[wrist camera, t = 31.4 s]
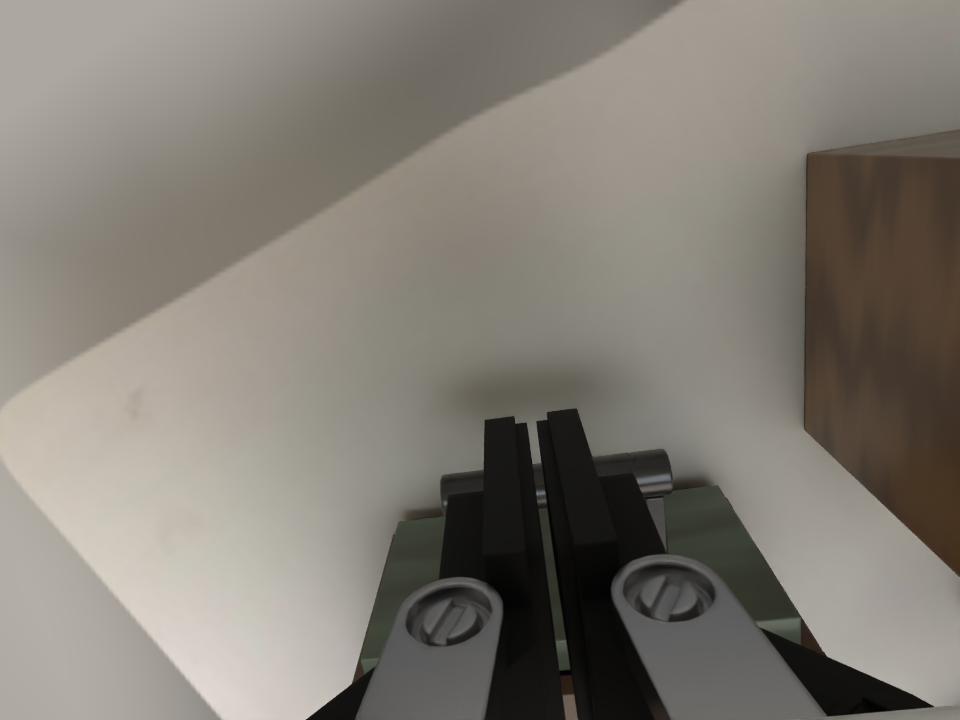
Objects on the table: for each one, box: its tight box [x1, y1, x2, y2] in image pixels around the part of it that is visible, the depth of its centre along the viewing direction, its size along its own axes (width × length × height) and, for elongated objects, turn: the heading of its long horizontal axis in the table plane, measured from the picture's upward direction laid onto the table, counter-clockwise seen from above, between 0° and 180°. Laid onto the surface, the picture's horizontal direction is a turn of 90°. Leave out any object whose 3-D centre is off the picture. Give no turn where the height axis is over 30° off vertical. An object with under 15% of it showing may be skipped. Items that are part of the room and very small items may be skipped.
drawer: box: [361, 449, 801, 674], centre depth 25 cm, size 19×13×8 cm
